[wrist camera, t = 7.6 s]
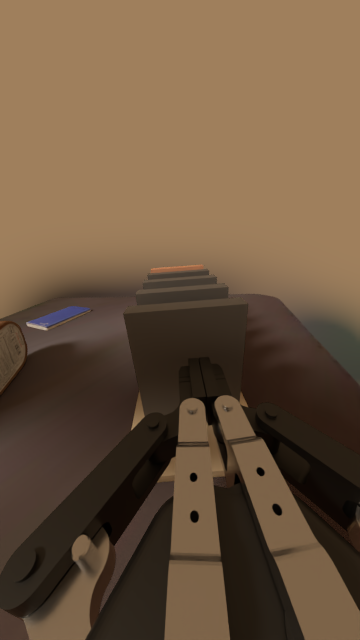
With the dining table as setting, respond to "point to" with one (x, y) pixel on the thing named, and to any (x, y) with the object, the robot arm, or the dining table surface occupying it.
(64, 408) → the dining table surface
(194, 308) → the domino
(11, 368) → the tin
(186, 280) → the domino
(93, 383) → the dining table surface
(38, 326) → the blue notebook
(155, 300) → the domino
